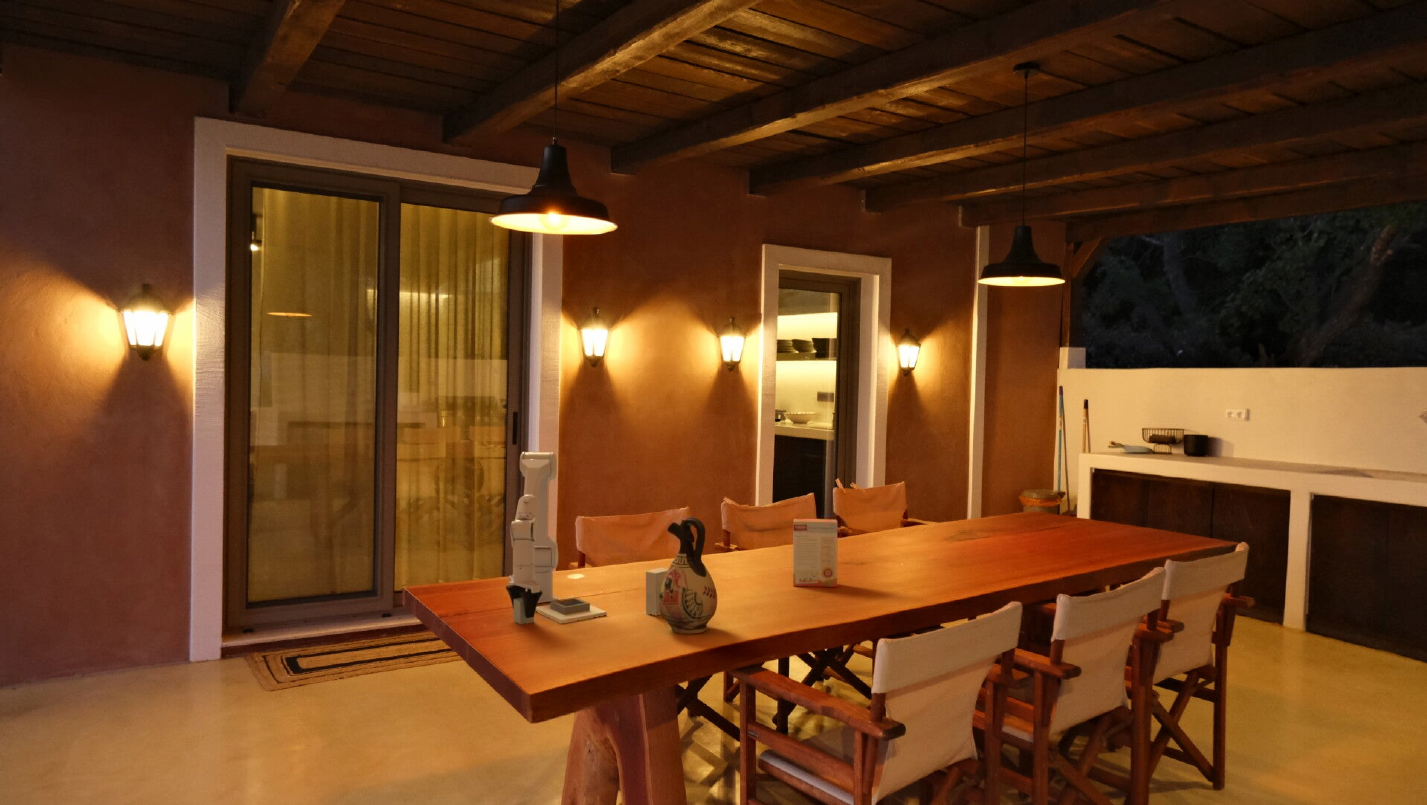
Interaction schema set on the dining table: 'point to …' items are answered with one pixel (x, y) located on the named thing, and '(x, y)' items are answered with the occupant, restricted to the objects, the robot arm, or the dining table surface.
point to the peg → (520, 612)
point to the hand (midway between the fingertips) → (523, 614)
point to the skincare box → (654, 590)
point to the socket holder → (570, 610)
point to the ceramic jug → (688, 583)
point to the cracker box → (815, 552)
